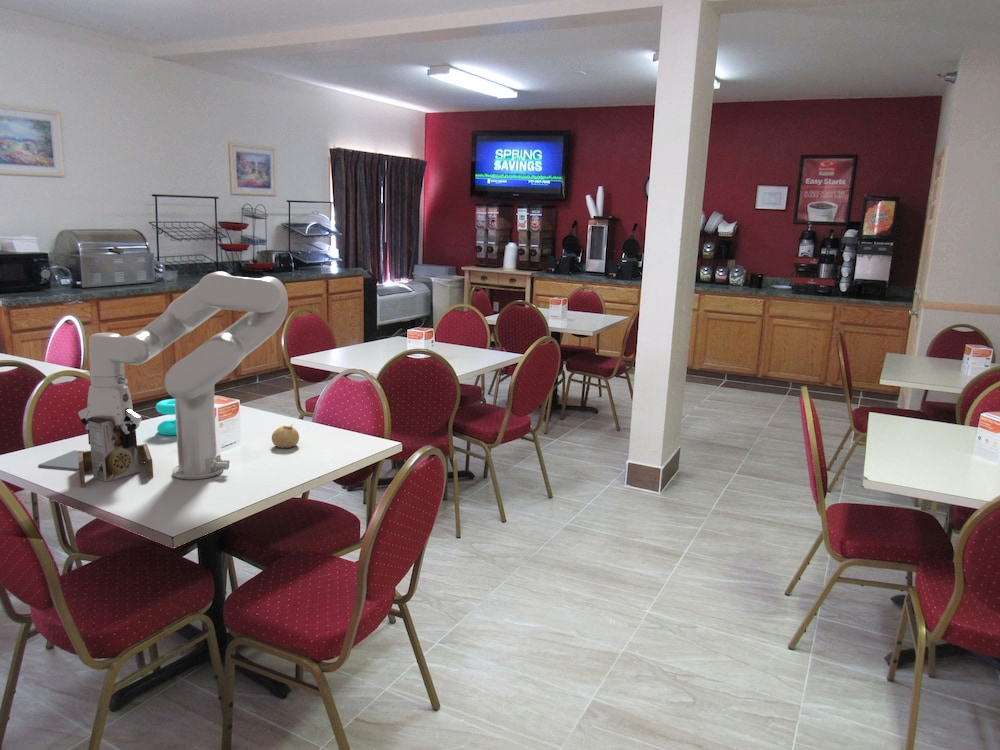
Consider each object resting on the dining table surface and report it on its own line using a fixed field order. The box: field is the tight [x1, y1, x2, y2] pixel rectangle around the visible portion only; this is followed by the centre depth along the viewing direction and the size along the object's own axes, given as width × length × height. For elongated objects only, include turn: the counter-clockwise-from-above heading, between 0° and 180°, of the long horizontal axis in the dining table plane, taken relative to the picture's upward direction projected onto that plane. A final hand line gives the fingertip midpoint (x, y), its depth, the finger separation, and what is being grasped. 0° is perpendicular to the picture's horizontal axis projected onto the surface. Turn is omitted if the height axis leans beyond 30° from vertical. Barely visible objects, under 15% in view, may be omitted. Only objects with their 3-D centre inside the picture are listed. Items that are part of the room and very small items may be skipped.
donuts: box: [155, 398, 177, 436], centre depth 221 cm, size 10×10×10 cm
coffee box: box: [88, 416, 140, 483], centre depth 181 cm, size 9×6×16 cm
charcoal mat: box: [38, 449, 83, 471], centre depth 192 cm, size 13×13×1 cm
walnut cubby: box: [78, 443, 154, 488], centre depth 183 cm, size 16×14×5 cm
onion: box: [271, 424, 300, 448], centre depth 211 cm, size 8×8×7 cm
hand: (111, 445), depth 181 cm, fingers open, 9 cm apart
